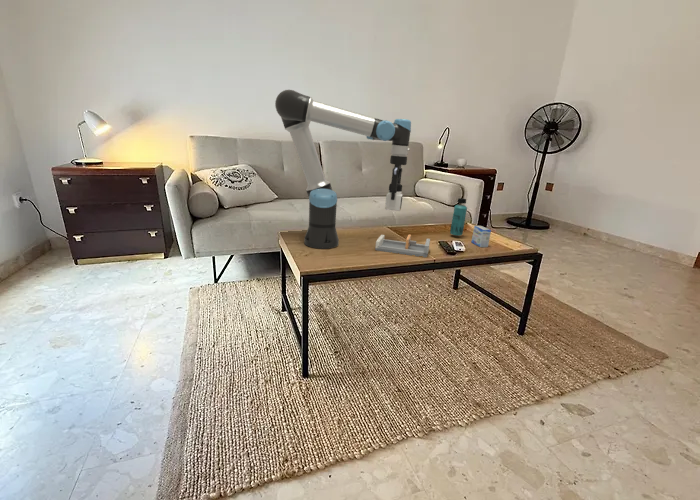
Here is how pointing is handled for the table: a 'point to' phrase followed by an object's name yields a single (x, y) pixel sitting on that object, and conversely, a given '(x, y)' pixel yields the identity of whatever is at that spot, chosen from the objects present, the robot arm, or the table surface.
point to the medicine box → (481, 236)
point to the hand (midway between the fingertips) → (393, 205)
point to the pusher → (409, 242)
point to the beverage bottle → (458, 218)
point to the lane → (402, 247)
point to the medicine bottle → (398, 199)
